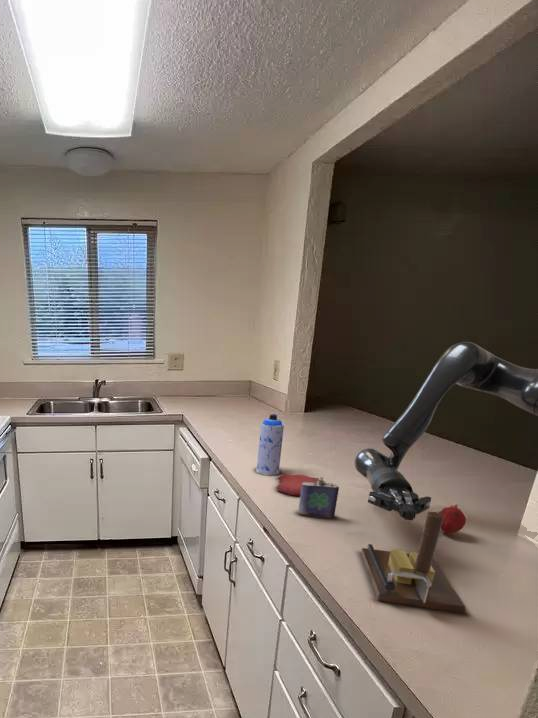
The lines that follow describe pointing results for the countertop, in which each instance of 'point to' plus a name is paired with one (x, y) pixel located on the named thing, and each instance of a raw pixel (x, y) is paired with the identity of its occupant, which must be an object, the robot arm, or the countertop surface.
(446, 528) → the onion
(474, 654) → the countertop surface
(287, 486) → the patty
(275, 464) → the aerosol can
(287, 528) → the countertop surface
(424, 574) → the wooden handled slicer
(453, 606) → the butter board
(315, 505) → the flask
